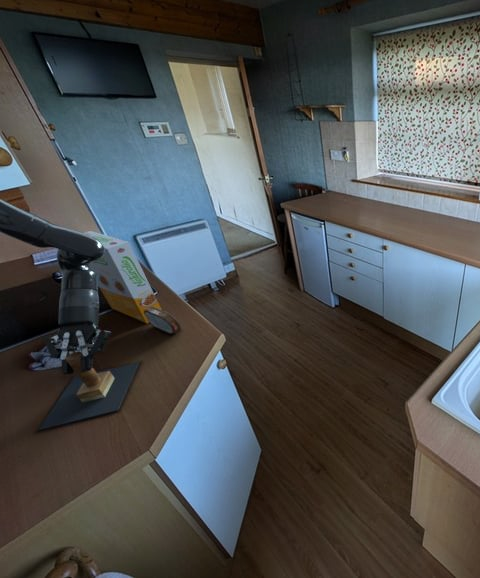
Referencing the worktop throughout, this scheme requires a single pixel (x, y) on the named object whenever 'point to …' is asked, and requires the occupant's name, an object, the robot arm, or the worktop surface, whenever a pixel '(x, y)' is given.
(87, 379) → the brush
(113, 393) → the mat
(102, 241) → the cereal box
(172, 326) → the tin
